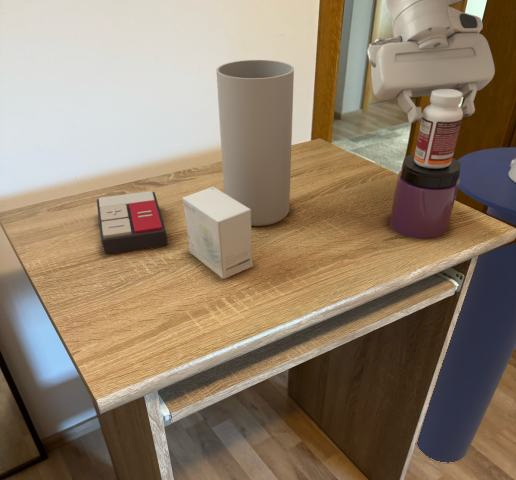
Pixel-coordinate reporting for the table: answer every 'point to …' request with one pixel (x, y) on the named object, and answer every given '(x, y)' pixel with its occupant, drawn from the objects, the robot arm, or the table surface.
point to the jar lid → (430, 174)
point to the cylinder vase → (257, 135)
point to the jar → (421, 209)
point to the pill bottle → (439, 129)
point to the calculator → (130, 222)
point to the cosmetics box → (219, 231)
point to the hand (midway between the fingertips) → (442, 117)
